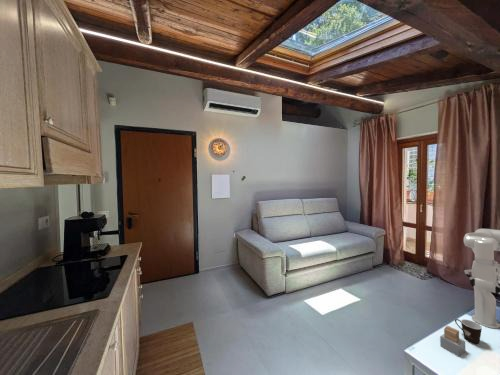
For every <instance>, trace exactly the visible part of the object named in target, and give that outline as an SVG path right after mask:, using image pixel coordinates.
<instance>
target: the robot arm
mask: <svg viewBox="0 0 500 375" xmlns="http://www.w3.org/2000/svg"><path fill="white" fill-rule="evenodd" d="M463 244H464V247H467V248H471V250H472V252H473V254H474V260H473V261H472V266H471V269H464V270H463V272H464V274H465V275H466V277H468V279H469V281H470V282H469V285H471V287H473V292H474V314H472V315H471V319H472V321H473V322H476V323H478V324H479V325H480V326H484V327H486V328H490V329H499V328H500V323H499V322H498V321H497V300H496V297H495V295H493V293H494V294H497V295H500V263H499V262H498V261H496V260H495V253H494V252H495V251H497V252H500V229H491V228H478V229H476V230H475V231H474V232H468V233H465V234H464V236H463ZM470 273H471V274H470Z"/></svg>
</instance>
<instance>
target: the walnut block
mask: <svg viewBox="0 0 500 375" xmlns="http://www.w3.org/2000/svg"><path fill="white" fill-rule="evenodd" d="M443 334H444V337H445V338H447V339H449V340H451V341H453V342H457V341H458V340H459V338H460V330H458V329H457V328H453V327H452V326H449V325H446V326H445V327H444V329H443Z"/></svg>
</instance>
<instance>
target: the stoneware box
mask: <svg viewBox="0 0 500 375" xmlns="http://www.w3.org/2000/svg"><path fill="white" fill-rule="evenodd" d="M439 341H440V342H439V344H440V346H439V347H441V348H442V349H445V350H446V351H449V352H450V353H451V354H453V355H455V356H457V357H460V356H461V355H463V353H465V352H466V340H465V339H462V338H460V337H459V340H458V341H457V342H453V341H451V340H449V339H447V338H445V337H444V333H443V334H442V335H440V337H439Z"/></svg>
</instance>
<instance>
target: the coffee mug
mask: <svg viewBox="0 0 500 375" xmlns="http://www.w3.org/2000/svg"><path fill="white" fill-rule="evenodd" d="M457 321H458V322H460V323H461V325H459V324H458V323H457ZM454 323H455V324H456V325H457V327H458V328H459V329H460V330H461V331H462V334H463V338H464V339H463V340H464V341H465V342H468V343H470V344H472V345H480V341H481V336H482V335H481V334H482V328H483V327H482V325H481V324H479V323H477V322H475V321H474V320H471V319H470V320H469V319H464V318H462V319H461V320H460V319H458V318H455V319H454Z"/></svg>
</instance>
